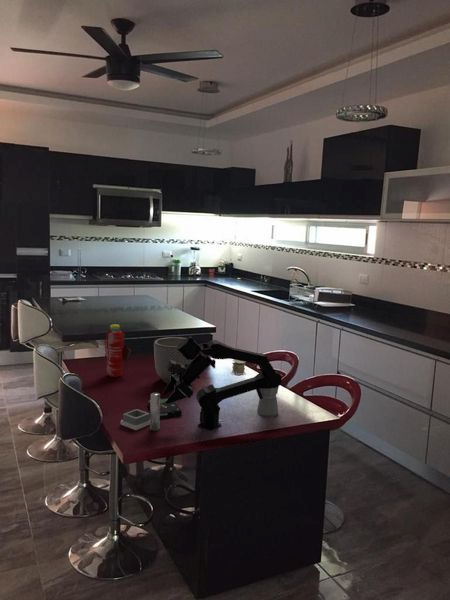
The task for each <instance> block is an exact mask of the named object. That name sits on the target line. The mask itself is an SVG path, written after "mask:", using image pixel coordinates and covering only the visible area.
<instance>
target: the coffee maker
mask: <svg viewBox="0 0 450 600" xmlns="http://www.w3.org/2000/svg"><path fill="white" fill-rule="evenodd" d="M279 387H280V386H279ZM279 387H277V388H271V389H256V394H257V396H258V398H259V399H258V405H257V410H256V412H257V414H258V415H259V416H263V417H275V416H277V415H279V408H278V406H279V405H278V399H277V398H278V397H277V395H278V392H279Z"/></svg>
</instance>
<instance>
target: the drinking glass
mask: <svg viewBox="0 0 450 600" xmlns="http://www.w3.org/2000/svg"><path fill="white" fill-rule="evenodd" d="M160 399H161V393H159V392H152V393H150V400H151V402H150V408H149V413H150V425H149V430H150V431H152V430H153V432H155V431H159V430H160V428H161V427H160V426H161V425H160V424H161V423H160V422H161V421H160V420H161V418H160Z"/></svg>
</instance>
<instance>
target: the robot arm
mask: <svg viewBox="0 0 450 600" xmlns="http://www.w3.org/2000/svg"><path fill="white" fill-rule="evenodd" d="M185 338H186V339H185V340H183V341H181V342H180V343H179V345H178V346H177V348H176V349H177V350H178V351H179V352H180V353H181V354H182V355H183V356H184V357H185V358H186V359H187V360H189V359H190V360H192V361H191V362H190V363H189V364H188V363H186V364H185V365H182V364H180V363H177V362H175V361H173V360H170V361H169V363H168V365H167V367H166V368H167V370H168V371H170V372H171V374H170V381H169V383H168V384H167V383H166V384H167V385H166V386H165V388H164V390H163V391H162V395H163V396H166V395H168V394H170V395H169V396H168V397H167V398H168V399H167V400H166V401H165V403H166V404H169V403H172V402H175V403H176V402H177V401H180V400H183V399H190V398H191V397H192V396H193V394H194V391H193V388H192V386H193V385H192V383H194V382H195V381H196V380H198V379H200V378H201V376H200V375H202V374H203V373H204V371H206V370H207V369H208V368H209V367H210V366H211V367H212V368H213V369H216V362H217V361H216V360H228V359H229V360H239V361H244V362H245V363H248V364H254V365H258V367H259V369H260V372H258V374H256V375H255V376H254V377H253V376H252V377H249V378H247V379H244V380H240V381H236V382H234V383H231V384H228V385H224V386H221V387H215V386H214V384H213V383H212V384H209V385H206V386H202V387H201V389H198V390H197V392H196V395H195V399H196V401H197V403H198V405H199V407H200V412H199V423H197V427H200V428H203V429H207V430H210V431H212V430H215V429H216V428H218V427H220V426H222V423H220V412H221V411H220V410H221V407H220V406H219V404H220V403H221V402H222V401H224V400H227V399H229V398H233V397H236V396H240V395H243V394H247V393H249V392H252V391H255V390H256V389H271V388H277V387H280V385H281V383H282V381H283V379H282V378H283V377H282V376H281V374H280V373H278V372H277V371H276V369H275V368H274V367H273V366H272V364H271V362H270V361H269V358H268V357H267V356H266V355H265V354H264V353H262V352H261V353H259V352H254V351H250V350H247V349H246V350H245V349H242V348H236V347H232V346H229V345H227V344H225V343H223V342H221V341H218V340H217V339H212V340H209V341H208V342H205V343H197V342H195V341H196V340H194V338H193V337H192V336H191V335H190V336H188V337H185Z"/></svg>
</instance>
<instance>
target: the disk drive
mask: <svg viewBox="0 0 450 600" xmlns="http://www.w3.org/2000/svg"><path fill="white" fill-rule="evenodd" d="M167 399H168V397H167V398H160V419H165V418H164V417H166V418H173V417H175V416H176V417H181V416H182V415H183V414H182V409H181V408H180V406H178V404H177V402H176V401H175V402H172V403H169V404H166V403H165V401H166V400H167ZM150 402H151V399H149V400H148V401H147V406H148V408H149V409H150Z"/></svg>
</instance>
